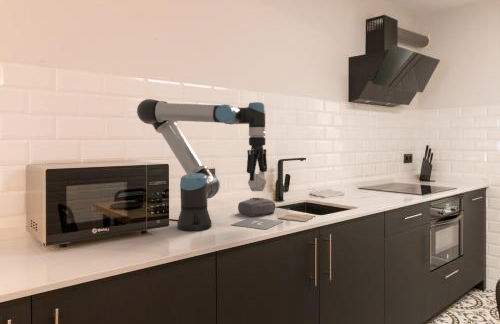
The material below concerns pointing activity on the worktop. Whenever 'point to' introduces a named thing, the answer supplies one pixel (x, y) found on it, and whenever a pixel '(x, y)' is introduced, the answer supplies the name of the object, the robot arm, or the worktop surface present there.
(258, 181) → the die
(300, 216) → the walnut pad
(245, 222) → the tile
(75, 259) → the worktop surface
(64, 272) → the worktop surface
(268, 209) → the grey rounded bag
